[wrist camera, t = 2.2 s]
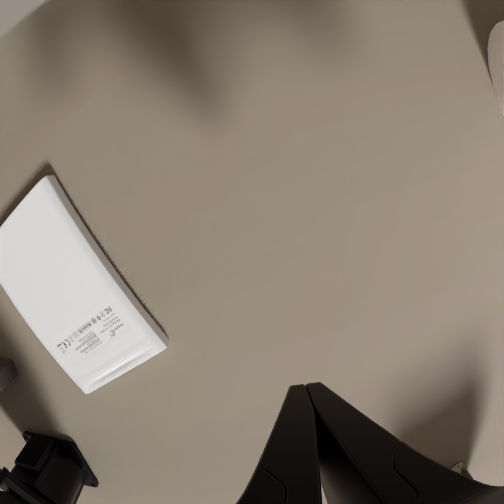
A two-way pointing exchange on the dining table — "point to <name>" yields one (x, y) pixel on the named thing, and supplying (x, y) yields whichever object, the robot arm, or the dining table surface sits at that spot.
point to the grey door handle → (6, 373)
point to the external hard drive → (72, 291)
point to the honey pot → (497, 61)
